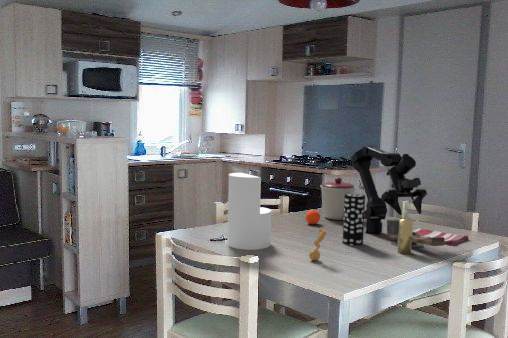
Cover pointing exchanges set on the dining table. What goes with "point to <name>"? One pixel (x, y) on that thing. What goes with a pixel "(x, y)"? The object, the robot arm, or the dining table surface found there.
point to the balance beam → (394, 230)
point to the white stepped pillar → (247, 214)
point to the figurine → (315, 253)
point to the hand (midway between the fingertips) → (410, 214)
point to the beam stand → (414, 245)
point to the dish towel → (448, 238)
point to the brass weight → (405, 236)
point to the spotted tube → (353, 219)
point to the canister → (335, 198)
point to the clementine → (312, 217)
